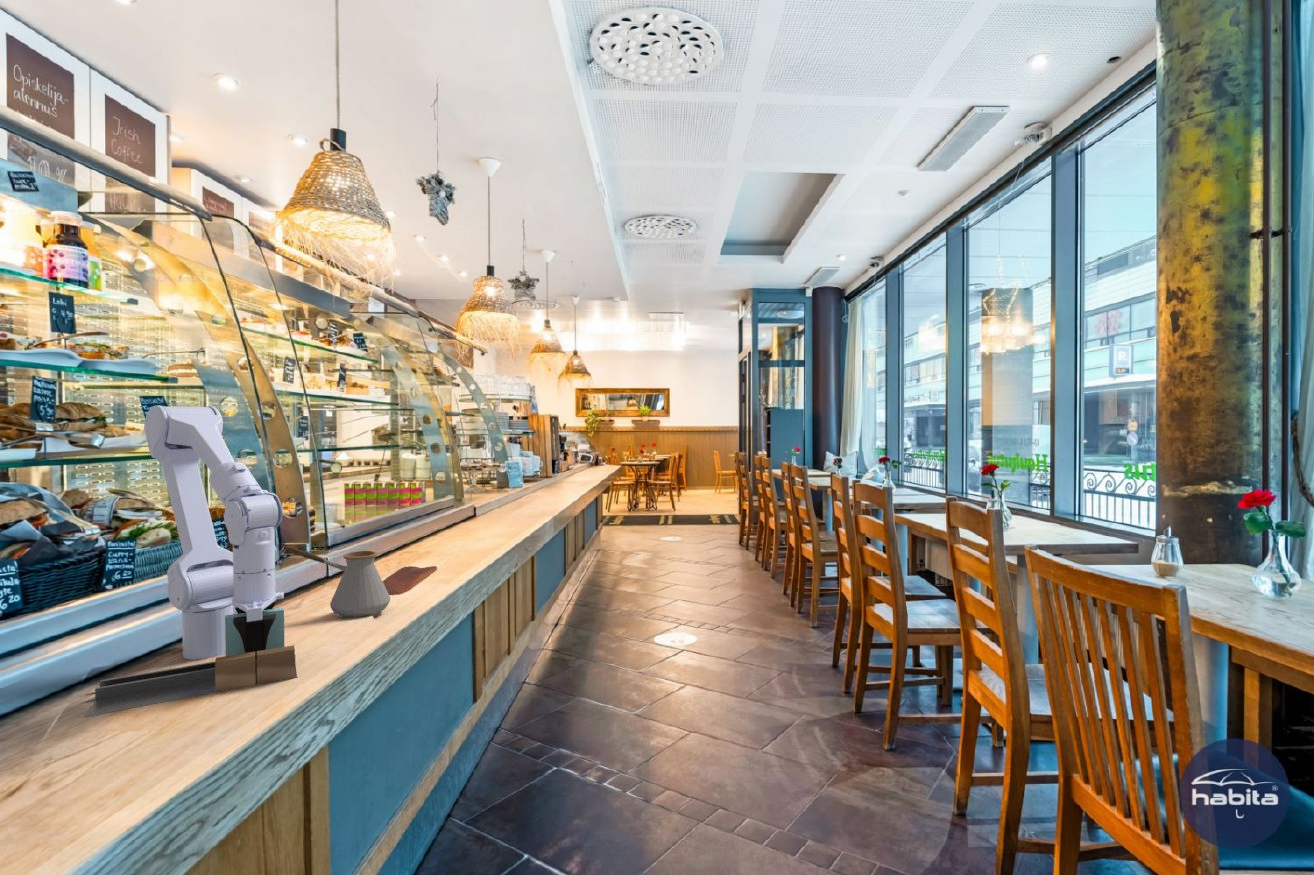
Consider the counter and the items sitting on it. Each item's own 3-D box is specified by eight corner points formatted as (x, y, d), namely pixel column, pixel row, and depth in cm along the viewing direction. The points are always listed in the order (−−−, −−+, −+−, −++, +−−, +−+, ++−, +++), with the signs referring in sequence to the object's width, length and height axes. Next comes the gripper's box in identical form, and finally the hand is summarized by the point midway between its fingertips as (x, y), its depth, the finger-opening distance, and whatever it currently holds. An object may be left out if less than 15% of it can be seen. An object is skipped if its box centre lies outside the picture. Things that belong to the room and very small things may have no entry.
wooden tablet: (402, 570, 174) (402, 564, 174) (439, 570, 174) (439, 564, 174) (359, 598, 147) (359, 591, 147) (402, 598, 148) (402, 591, 147)
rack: (103, 692, 96) (102, 676, 96) (294, 660, 109) (294, 645, 109) (85, 723, 86) (85, 705, 86) (297, 683, 99) (297, 668, 99)
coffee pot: (397, 605, 140) (396, 538, 139) (381, 622, 129) (380, 549, 128) (294, 608, 137) (293, 539, 137) (268, 626, 126) (267, 551, 125)
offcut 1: (216, 687, 96) (215, 657, 95) (255, 680, 98) (255, 651, 98) (215, 692, 94) (215, 662, 94) (255, 684, 96) (255, 655, 96)
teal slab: (226, 671, 102) (225, 615, 101) (284, 661, 106) (283, 607, 105) (226, 674, 100) (225, 617, 100) (284, 664, 105) (283, 609, 104)
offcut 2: (257, 679, 98) (256, 651, 98) (294, 673, 101) (294, 645, 101) (257, 684, 97) (256, 655, 96) (295, 677, 99) (294, 649, 99)
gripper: (284, 576, 98) (285, 662, 99) (282, 558, 111) (283, 635, 111) (229, 582, 95) (231, 672, 95) (233, 562, 107) (234, 642, 108)
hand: (255, 652), depth 103 cm, fingers open, 6 cm apart
